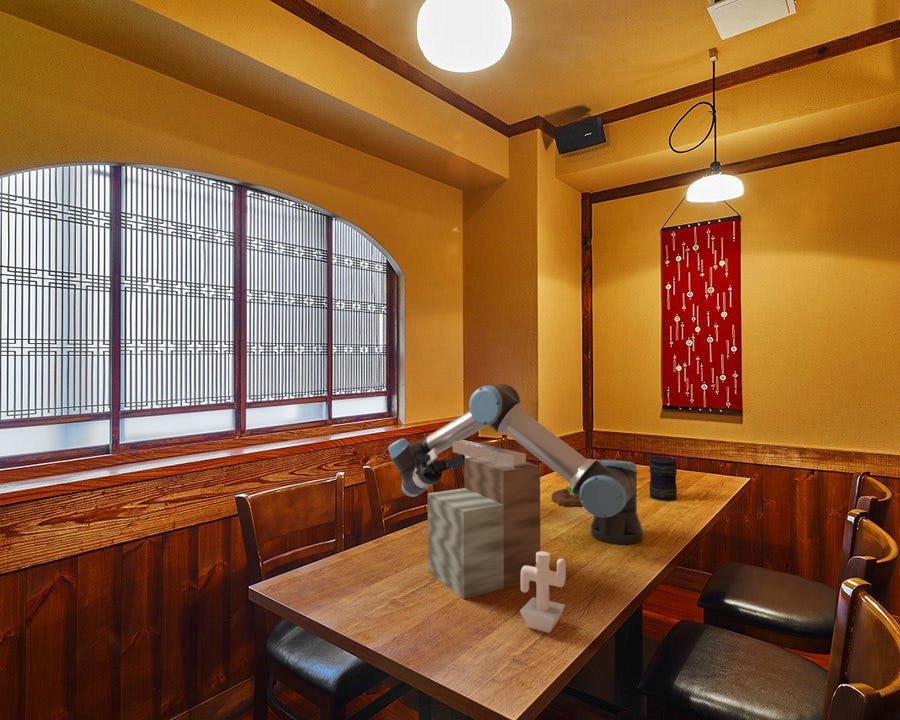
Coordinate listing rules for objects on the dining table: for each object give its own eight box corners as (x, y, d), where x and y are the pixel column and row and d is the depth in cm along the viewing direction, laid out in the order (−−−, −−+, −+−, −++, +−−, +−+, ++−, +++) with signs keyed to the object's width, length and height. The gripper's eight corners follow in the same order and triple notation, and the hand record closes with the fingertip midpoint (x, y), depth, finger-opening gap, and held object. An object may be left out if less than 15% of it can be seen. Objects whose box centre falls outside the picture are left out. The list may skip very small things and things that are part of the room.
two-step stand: (428, 571, 136) (427, 462, 136) (499, 555, 147) (498, 454, 146) (463, 599, 120) (463, 476, 120) (540, 578, 131) (540, 466, 131)
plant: (547, 494, 211) (547, 466, 211) (597, 495, 210) (597, 466, 210) (556, 509, 191) (556, 478, 191) (611, 509, 190) (611, 478, 190)
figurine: (527, 612, 114) (527, 543, 114) (570, 623, 109) (570, 551, 109) (514, 627, 108) (514, 554, 108) (559, 640, 103) (559, 563, 103)
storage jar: (681, 501, 200) (681, 461, 199) (654, 501, 200) (654, 461, 200) (670, 494, 209) (670, 456, 209) (645, 494, 210) (645, 456, 210)
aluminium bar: (452, 451, 150) (452, 441, 150) (463, 450, 152) (463, 440, 152) (513, 467, 129) (513, 455, 129) (525, 465, 131) (525, 453, 131)
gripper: (463, 480, 178) (494, 458, 162) (394, 489, 166) (420, 466, 150) (458, 459, 181) (487, 435, 165) (390, 466, 169) (415, 441, 153)
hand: (456, 450), depth 157 cm, fingers open, 13 cm apart
